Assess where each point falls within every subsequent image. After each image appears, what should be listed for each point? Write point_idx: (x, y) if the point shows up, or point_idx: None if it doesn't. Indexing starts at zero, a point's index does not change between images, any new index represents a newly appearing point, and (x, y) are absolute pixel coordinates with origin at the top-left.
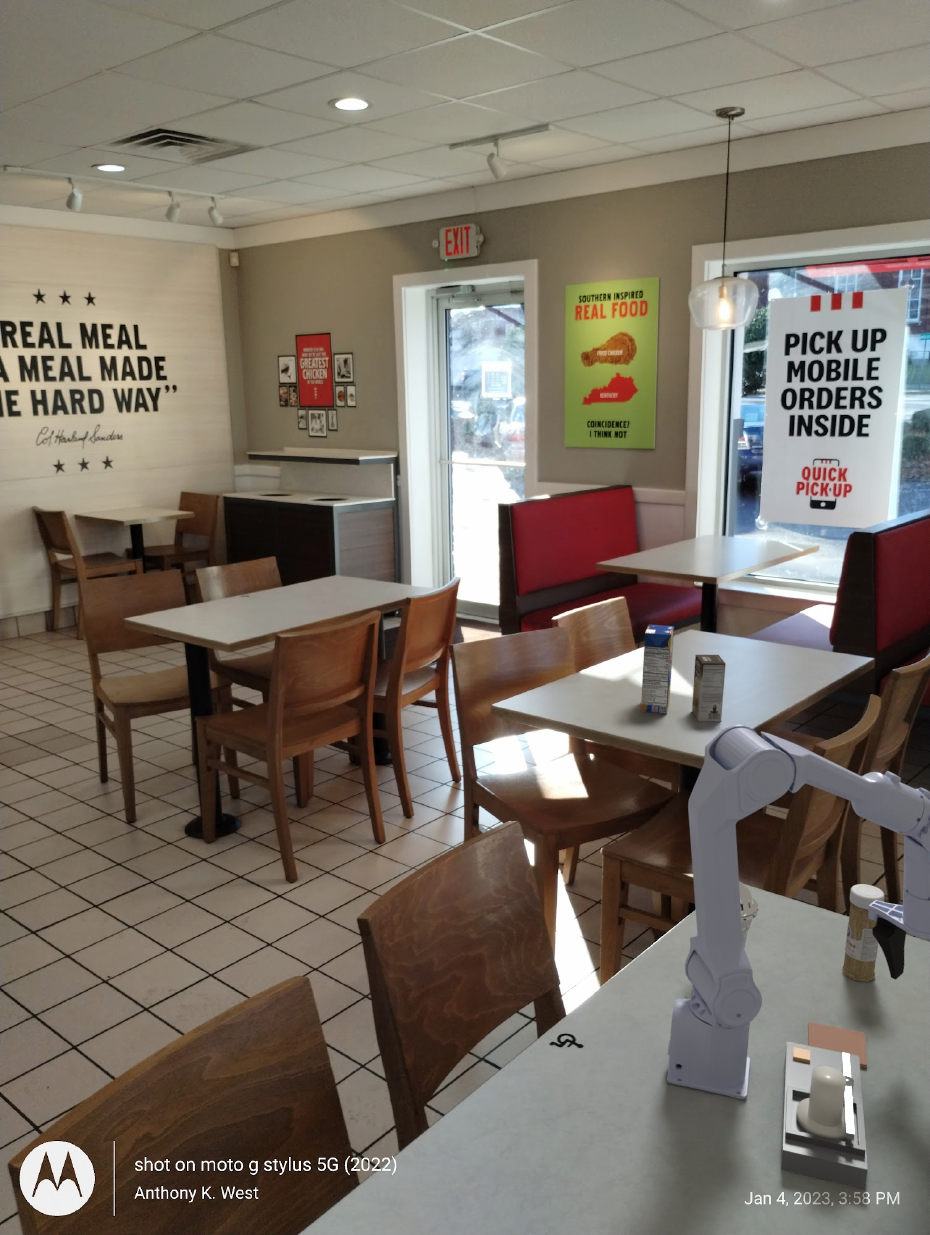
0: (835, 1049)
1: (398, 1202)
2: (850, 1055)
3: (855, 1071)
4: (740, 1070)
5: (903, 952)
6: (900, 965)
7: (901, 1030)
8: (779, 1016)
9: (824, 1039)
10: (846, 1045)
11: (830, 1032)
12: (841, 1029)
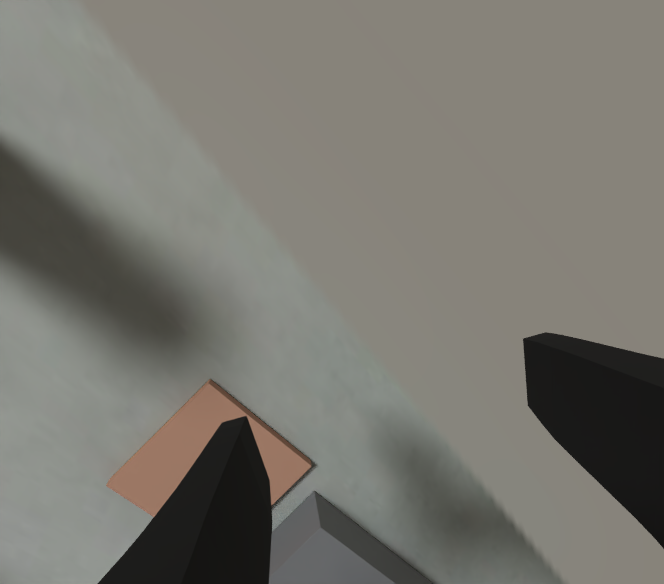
0: None
1: None
2: (310, 545)
3: (357, 568)
4: None
5: (220, 502)
6: (249, 484)
7: (232, 264)
8: (43, 521)
9: None
10: None
11: (171, 464)
12: (171, 429)
